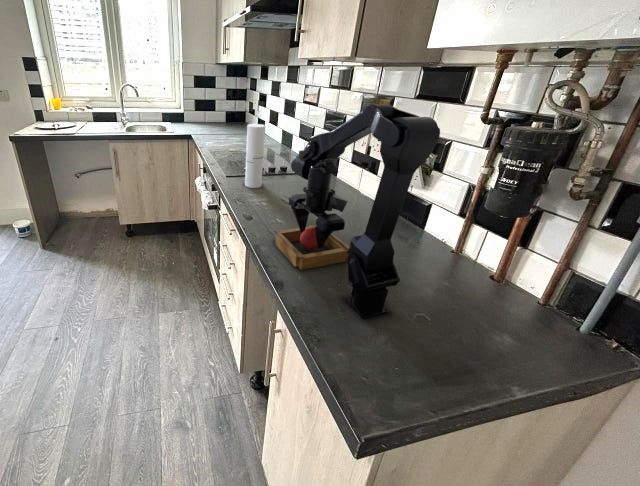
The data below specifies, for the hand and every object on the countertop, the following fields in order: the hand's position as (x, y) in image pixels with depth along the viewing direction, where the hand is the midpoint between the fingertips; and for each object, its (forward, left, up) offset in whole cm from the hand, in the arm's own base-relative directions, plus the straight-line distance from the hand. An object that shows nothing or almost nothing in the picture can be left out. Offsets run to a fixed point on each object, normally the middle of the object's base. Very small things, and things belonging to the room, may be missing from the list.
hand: (310, 239), depth 88 cm
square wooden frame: (0, 0, -4) cm, 4 cm away
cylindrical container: (+55, -5, -4) cm, 55 cm away
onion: (0, 0, -4) cm, 4 cm away
